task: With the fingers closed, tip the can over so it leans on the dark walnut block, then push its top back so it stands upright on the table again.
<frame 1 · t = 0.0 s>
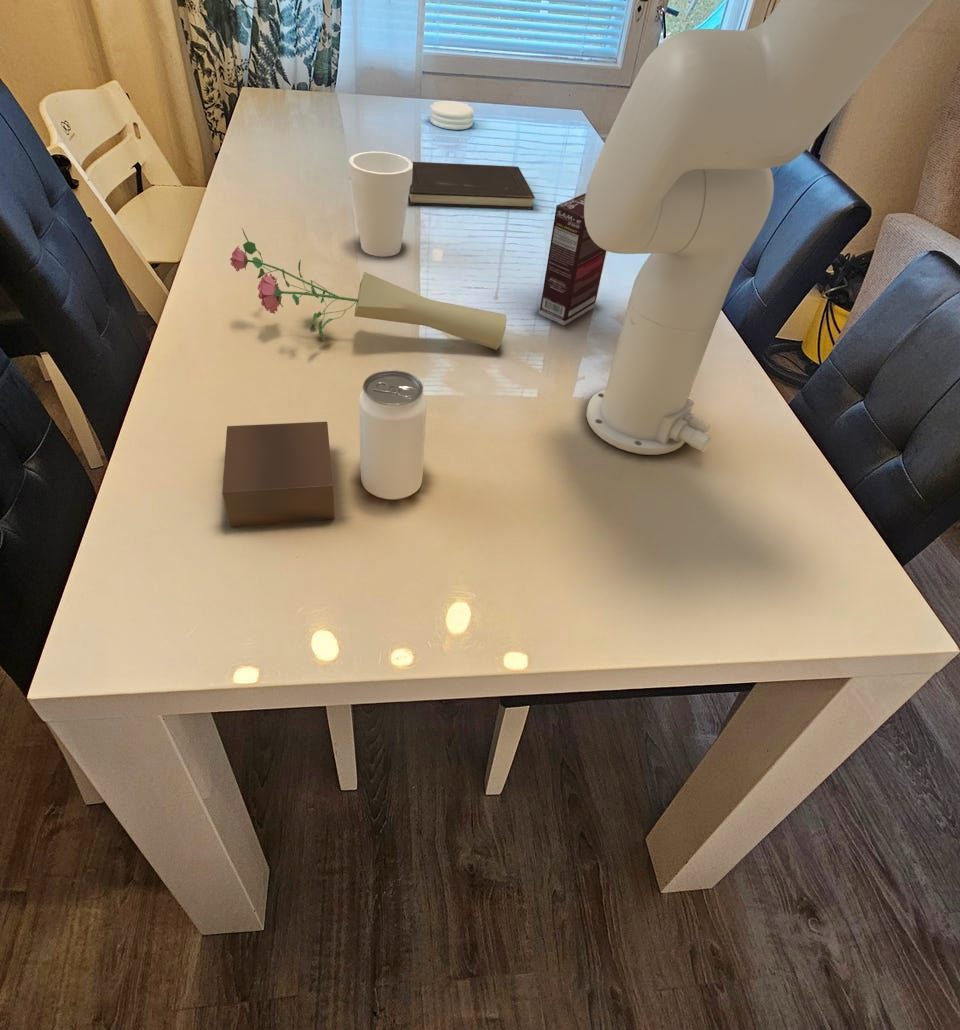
flower vase: (372, 340, 94), on the table
supplement box: (566, 312, 105), on the table
white stacked discs: (451, 124, 163), on the table
foam cup: (381, 248, 114), on the table
can: (391, 482, 75), on the table
hardcover book: (465, 191, 134), on the table
walnut block: (282, 488, 72), on the table
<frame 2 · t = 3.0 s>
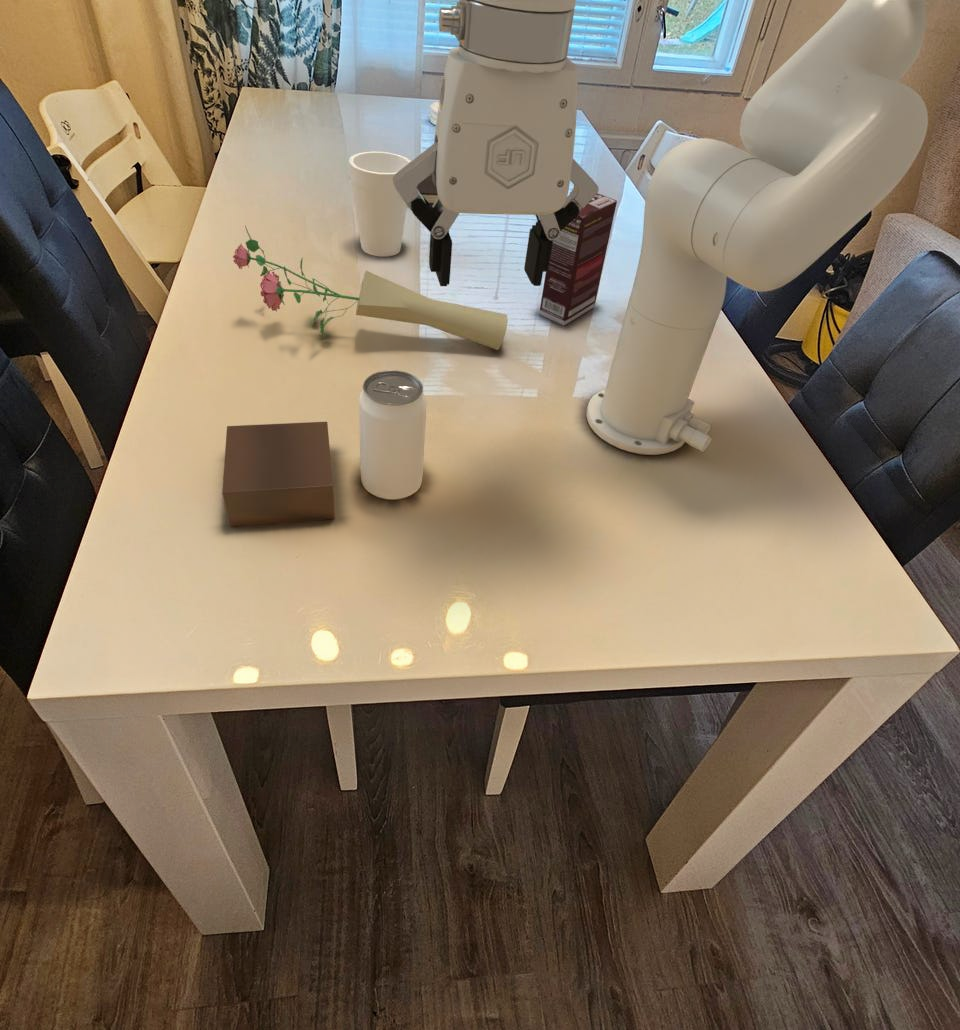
hand: (487, 277, 60), 23 cm above the table, tool pointing down, fingers open, 7 cm apart
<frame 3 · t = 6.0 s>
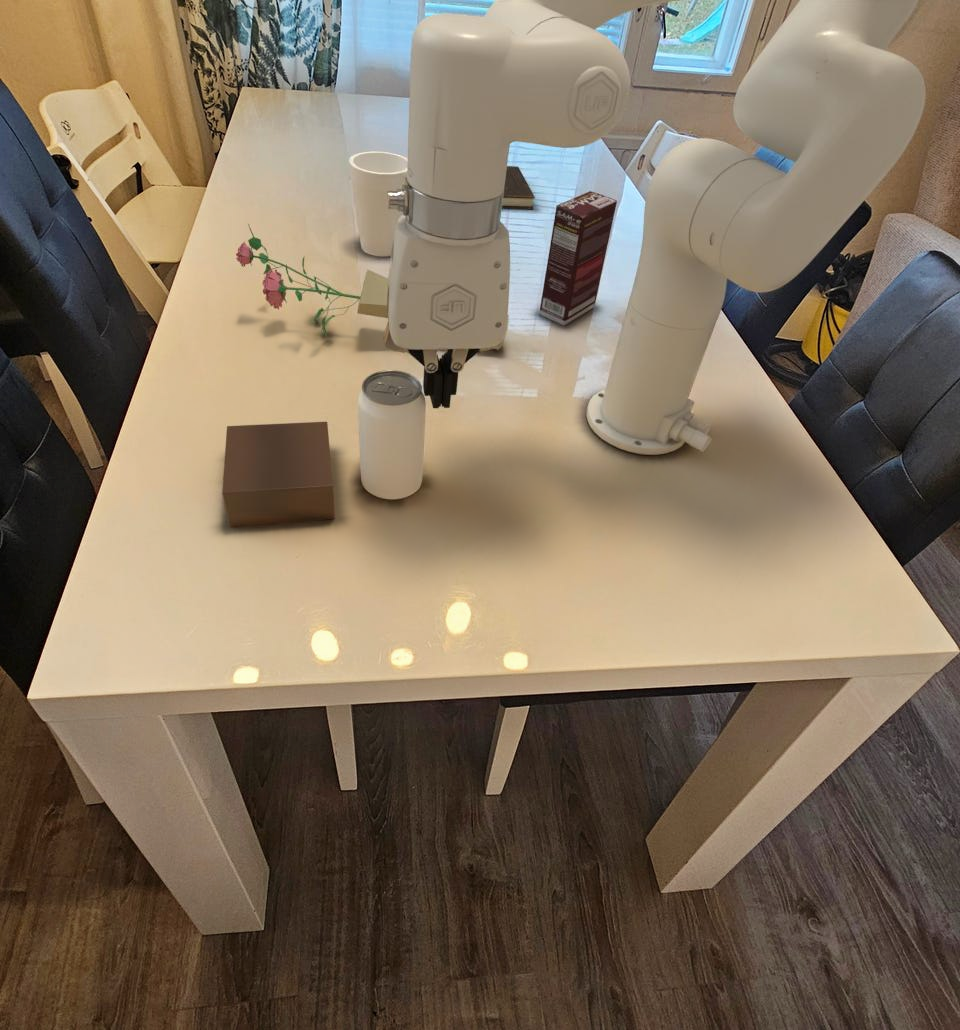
hand: (438, 399, 68), 10 cm above the table, tool pointing down, fingers closed
can: (391, 482, 75), on the table, touching gripper
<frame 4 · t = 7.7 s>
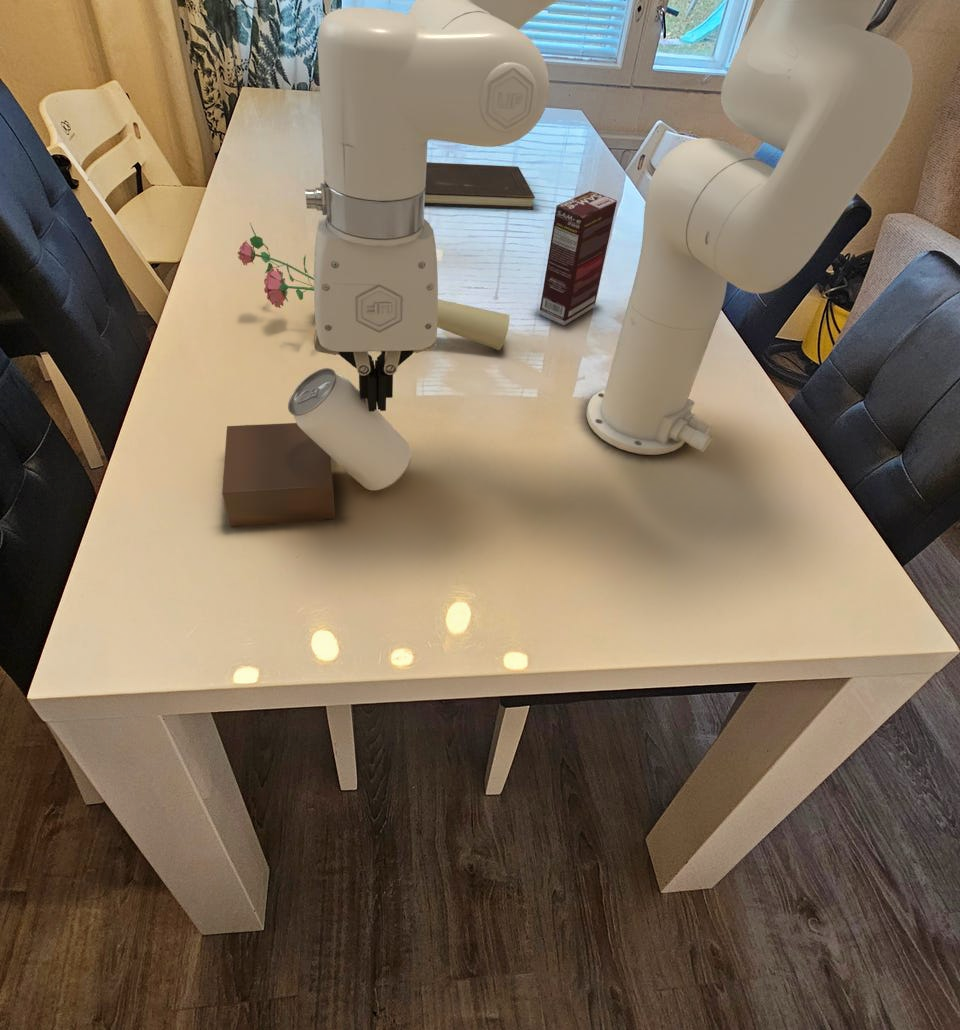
hand: (375, 402, 67), 10 cm above the table, tool pointing down, fingers closed
can: (389, 468, 73), point 2 cm above the table, touching gripper, walnut block
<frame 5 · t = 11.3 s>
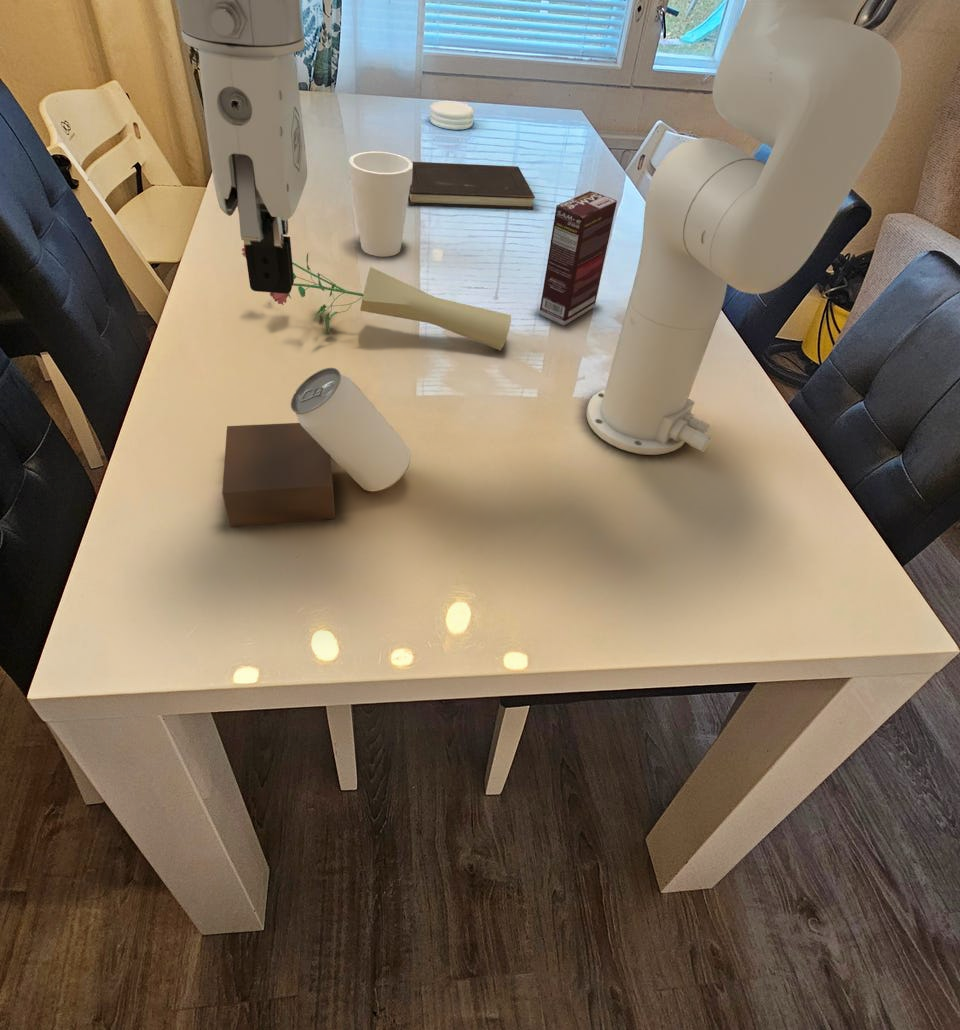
hand: (272, 287, 57), 22 cm above the table, tool pointing down, fingers closed
can: (387, 469, 73), point 2 cm above the table, touching walnut block
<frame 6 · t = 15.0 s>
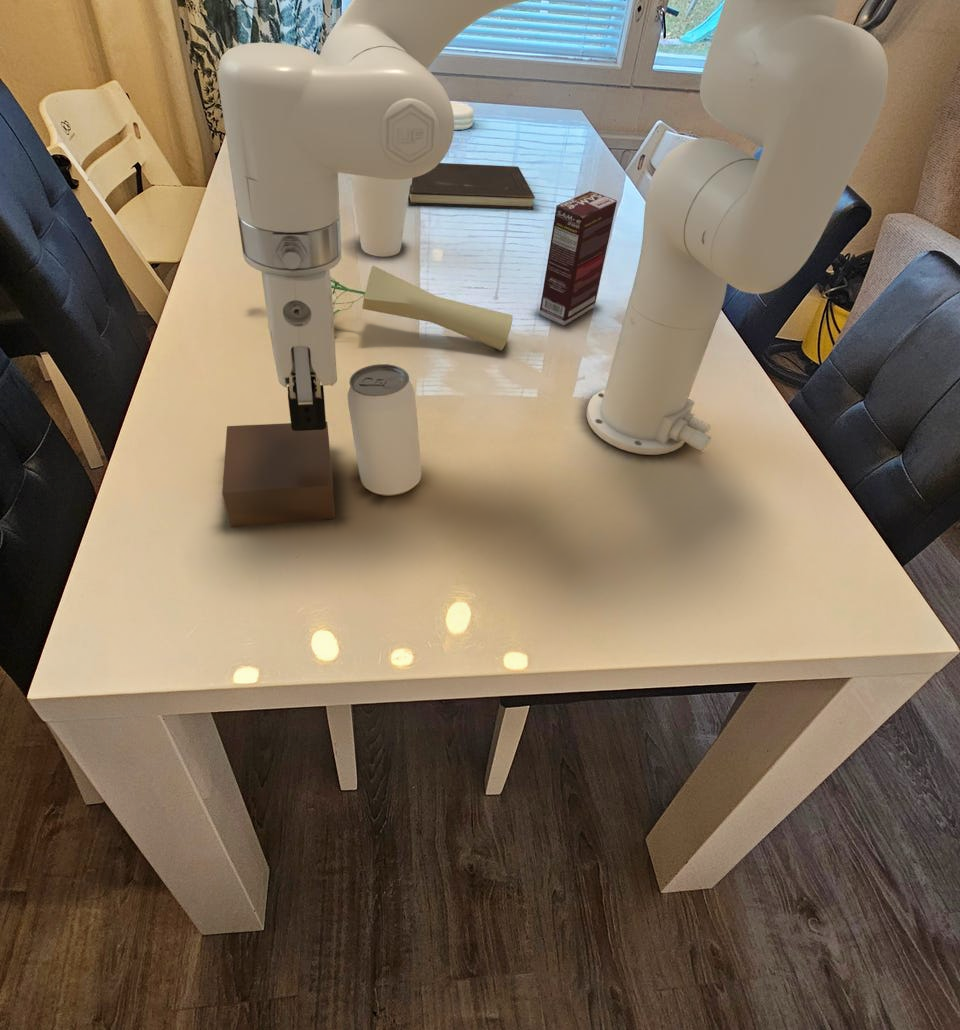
hand: (308, 424, 67), 8 cm above the table, tool pointing down, fingers closed
can: (391, 479, 74), on the table
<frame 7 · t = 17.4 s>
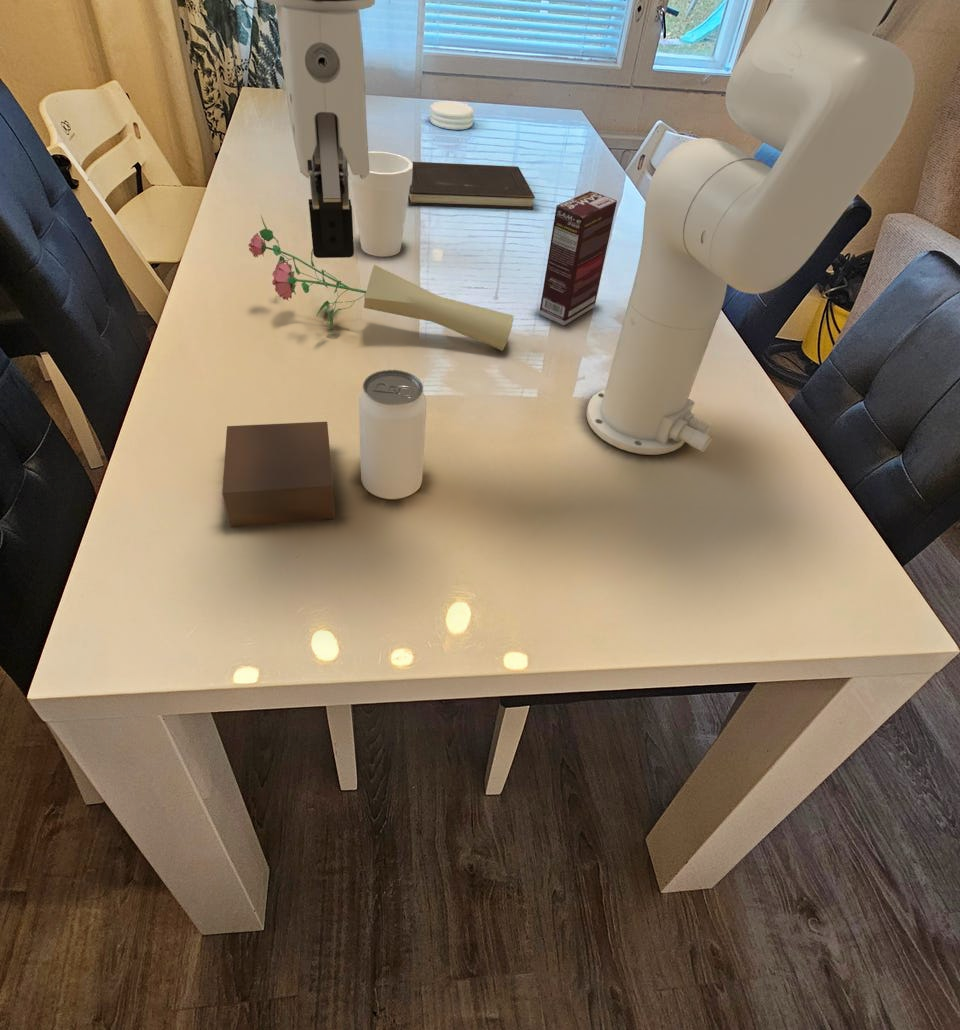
hand: (333, 252, 57), 25 cm above the table, tool pointing down, fingers closed
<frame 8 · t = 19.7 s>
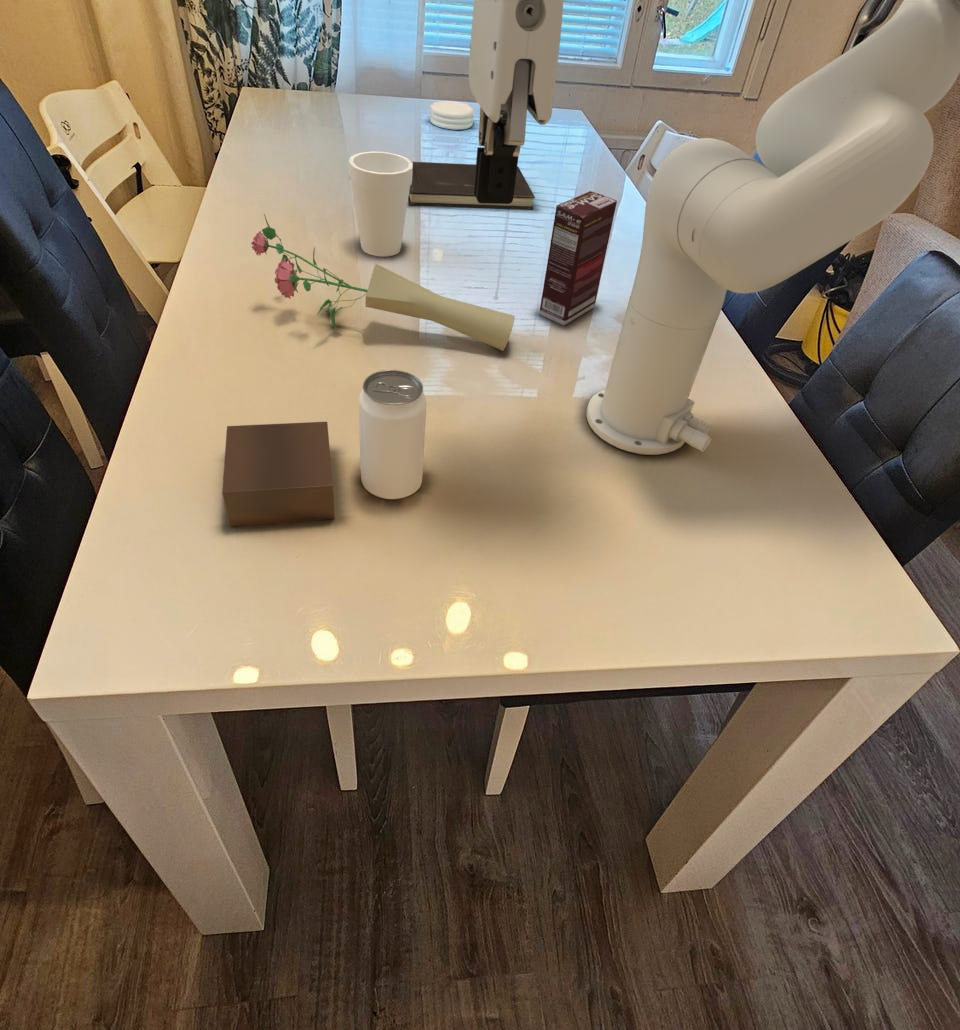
hand: (492, 199, 62), 27 cm above the table, tool pointing down, fingers closed
at the end: can tilted 0°; can inside the target area (0.0 cm from its centre), on the table; can touching table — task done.
